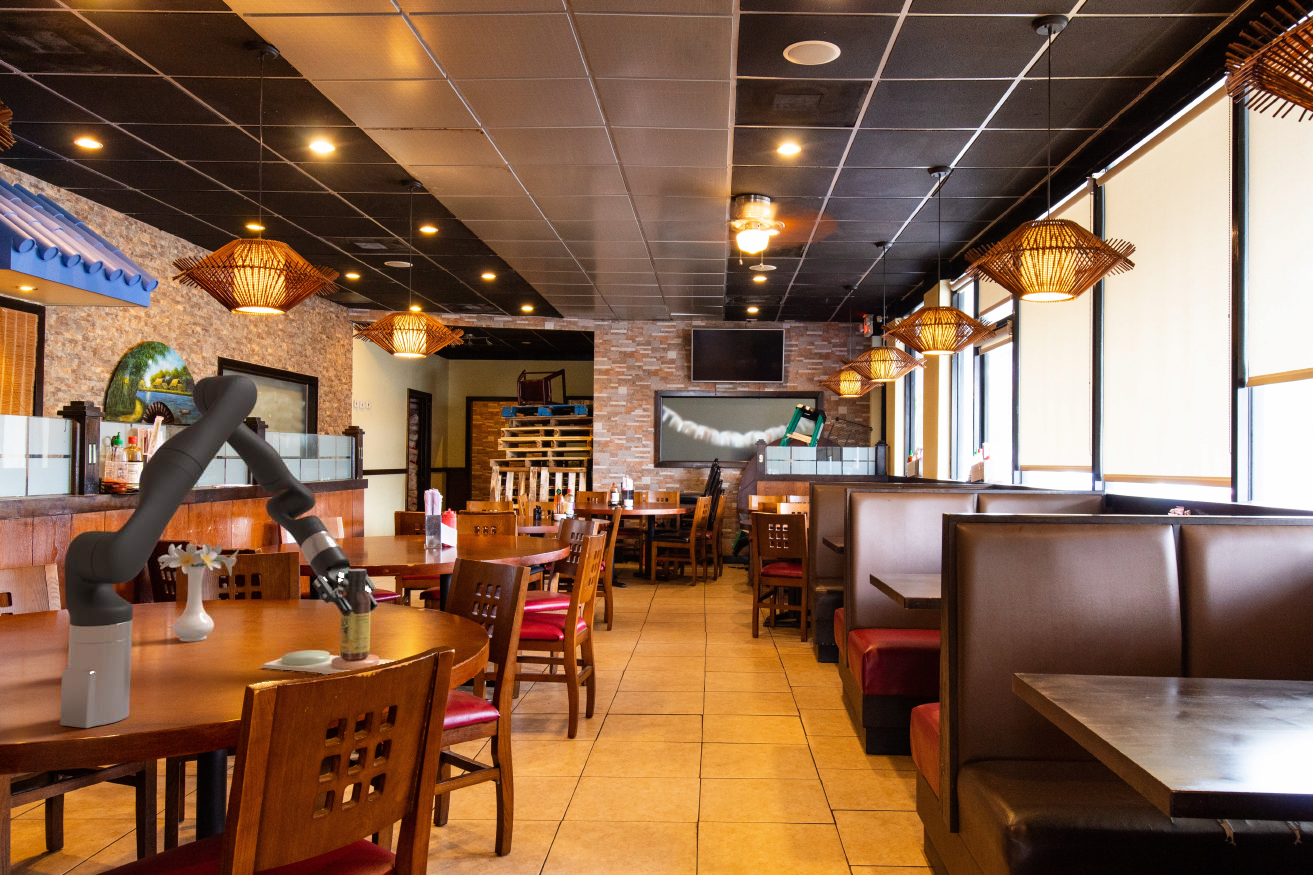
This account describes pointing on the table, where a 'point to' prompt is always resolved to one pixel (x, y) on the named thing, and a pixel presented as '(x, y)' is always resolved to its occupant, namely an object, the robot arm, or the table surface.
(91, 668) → the robot arm
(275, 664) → the tray
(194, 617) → the flower vase
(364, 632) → the sauce bottle
